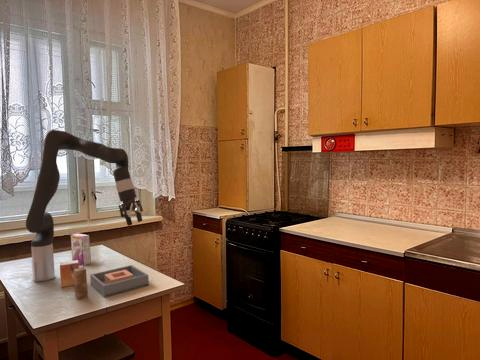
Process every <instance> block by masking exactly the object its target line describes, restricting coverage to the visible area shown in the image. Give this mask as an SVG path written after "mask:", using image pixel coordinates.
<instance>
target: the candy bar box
mask: <svg viewBox="0 0 480 360" xmlns="http://www.w3.org/2000/svg"><path fill="white" fill-rule="evenodd" d="M70 245H71V255H72V256H71V258H72V260H71V261H75V260H78V263H79V266H80V265H81V266H87V265H90V264H92V260H91V259H92V258H91V255H92V254H91V243H90V235H89V234H88V235H87V234H83V233H73V234H70Z"/></svg>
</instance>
